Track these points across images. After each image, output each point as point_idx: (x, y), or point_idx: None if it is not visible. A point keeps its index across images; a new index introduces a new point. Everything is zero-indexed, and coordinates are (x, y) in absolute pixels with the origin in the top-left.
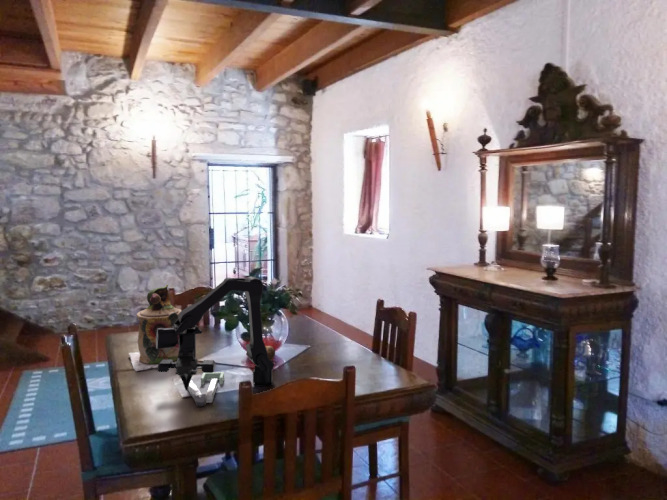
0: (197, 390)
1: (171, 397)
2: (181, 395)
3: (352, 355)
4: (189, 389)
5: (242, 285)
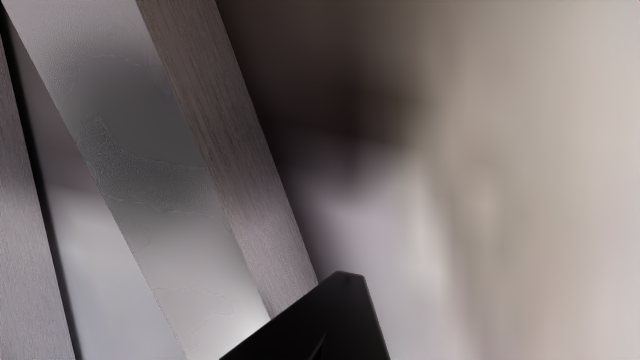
0: (61, 61)
1: (623, 175)
2: (440, 224)
3: None
4: None
5: None
